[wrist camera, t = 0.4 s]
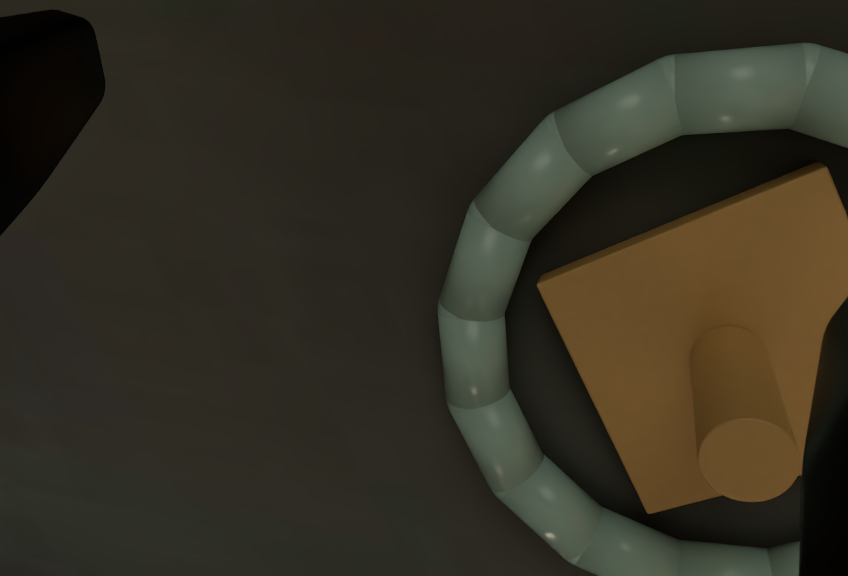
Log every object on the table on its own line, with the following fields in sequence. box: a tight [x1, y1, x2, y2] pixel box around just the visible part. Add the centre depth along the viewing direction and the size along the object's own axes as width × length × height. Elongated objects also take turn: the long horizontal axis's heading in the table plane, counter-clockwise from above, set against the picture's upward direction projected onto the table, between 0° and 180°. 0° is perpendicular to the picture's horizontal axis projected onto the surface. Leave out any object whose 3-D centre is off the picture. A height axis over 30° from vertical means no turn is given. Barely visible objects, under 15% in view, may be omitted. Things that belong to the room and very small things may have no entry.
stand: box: [537, 161, 848, 514], centre depth 19 cm, size 8×8×6 cm
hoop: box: [438, 43, 848, 576], centre depth 21 cm, size 16×16×2 cm
